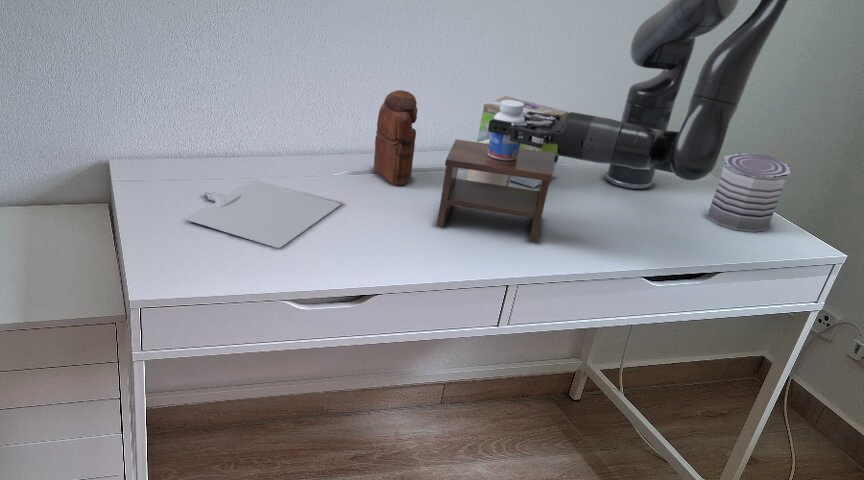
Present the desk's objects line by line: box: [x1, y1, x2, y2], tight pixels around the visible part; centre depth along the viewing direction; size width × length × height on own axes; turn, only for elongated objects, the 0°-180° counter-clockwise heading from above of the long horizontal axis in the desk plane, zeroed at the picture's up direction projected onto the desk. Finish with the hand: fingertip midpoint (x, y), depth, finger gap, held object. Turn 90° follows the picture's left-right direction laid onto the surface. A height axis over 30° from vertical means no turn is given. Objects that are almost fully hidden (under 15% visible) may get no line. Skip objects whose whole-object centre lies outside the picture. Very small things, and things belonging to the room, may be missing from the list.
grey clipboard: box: [186, 180, 341, 249], centre depth 163 cm, size 25×24×1 cm
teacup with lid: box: [465, 139, 511, 187], centre depth 176 cm, size 12×9×12 cm
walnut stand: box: [436, 138, 555, 243], centre depth 160 cm, size 13×18×13 cm
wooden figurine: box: [373, 89, 418, 186], centre depth 179 cm, size 12×6×18 cm, turn 21°
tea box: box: [476, 95, 570, 189], centre depth 184 cm, size 15×10×15 cm, turn 49°
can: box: [707, 152, 791, 233], centre depth 167 cm, size 11×11×12 cm
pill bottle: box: [488, 100, 525, 160], centre depth 155 cm, size 6×5×10 cm
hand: (494, 121), depth 155 cm, fingers closed on pill bottle, 5 cm apart
